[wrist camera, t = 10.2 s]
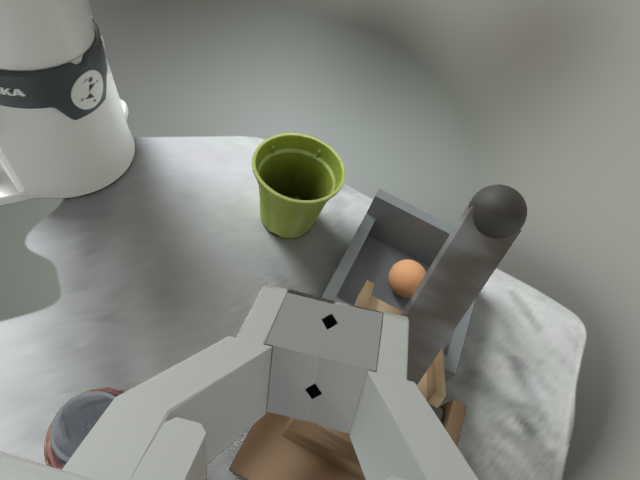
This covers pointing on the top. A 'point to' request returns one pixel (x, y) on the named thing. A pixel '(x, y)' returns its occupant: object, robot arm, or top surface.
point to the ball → (406, 277)
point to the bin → (394, 260)
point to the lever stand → (311, 448)
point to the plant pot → (295, 181)
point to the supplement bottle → (75, 424)
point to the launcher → (454, 283)
